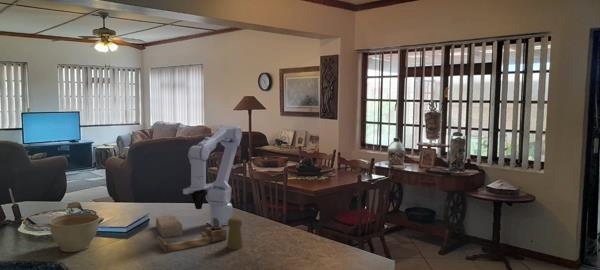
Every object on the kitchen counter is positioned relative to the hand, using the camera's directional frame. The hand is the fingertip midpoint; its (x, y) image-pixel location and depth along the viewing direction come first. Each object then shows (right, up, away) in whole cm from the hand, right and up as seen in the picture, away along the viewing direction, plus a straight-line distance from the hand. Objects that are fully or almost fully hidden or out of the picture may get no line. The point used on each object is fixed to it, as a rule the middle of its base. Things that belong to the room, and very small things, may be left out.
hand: (198, 208), depth 174 cm
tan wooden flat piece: (-3, -11, -11) cm, 16 cm away
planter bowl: (-41, -12, -17) cm, 46 cm away
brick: (-13, -10, +5) cm, 18 cm away
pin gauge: (+8, -11, -5) cm, 14 cm away
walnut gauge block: (+8, -11, -5) cm, 14 cm away
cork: (+17, -12, -13) cm, 25 cm away
